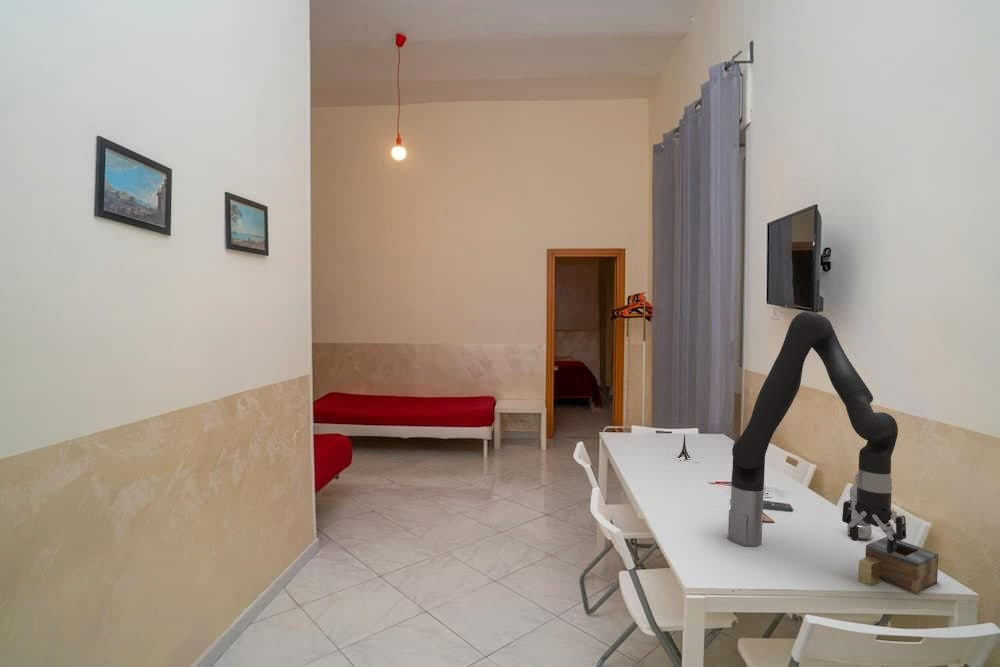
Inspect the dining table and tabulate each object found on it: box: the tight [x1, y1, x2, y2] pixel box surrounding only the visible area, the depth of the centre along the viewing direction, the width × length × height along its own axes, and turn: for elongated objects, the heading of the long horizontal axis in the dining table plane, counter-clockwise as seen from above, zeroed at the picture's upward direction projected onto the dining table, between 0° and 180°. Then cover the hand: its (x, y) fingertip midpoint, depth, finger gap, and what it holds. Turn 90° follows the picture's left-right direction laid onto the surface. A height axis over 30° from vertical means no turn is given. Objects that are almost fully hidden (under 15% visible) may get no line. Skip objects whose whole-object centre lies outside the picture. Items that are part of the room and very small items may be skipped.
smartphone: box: [762, 512, 775, 524], centre depth 184 cm, size 8×1×15 cm
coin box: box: [864, 536, 940, 595], centre depth 141 cm, size 12×12×8 cm
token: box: [857, 556, 881, 588], centre depth 139 cm, size 5×3×6 cm, turn 119°
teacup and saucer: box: [764, 484, 770, 495], centre depth 205 cm, size 9×8×4 cm
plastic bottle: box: [847, 474, 873, 540], centre depth 166 cm, size 6×7×20 cm
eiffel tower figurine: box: [677, 434, 691, 462], centre depth 254 cm, size 15×10×13 cm
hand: (872, 546), depth 139 cm, fingers open, 8 cm apart
